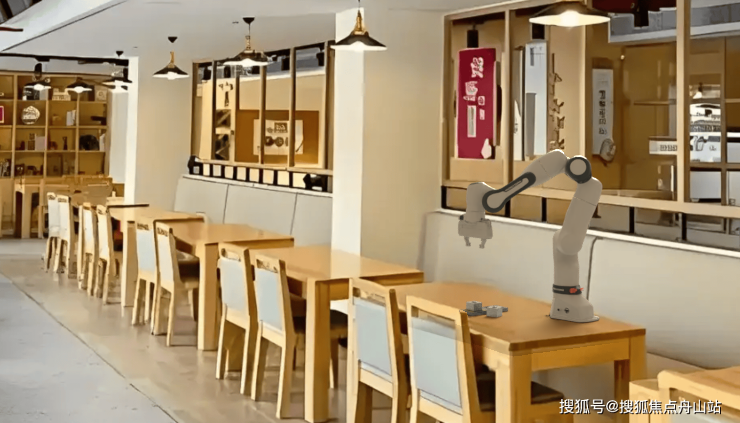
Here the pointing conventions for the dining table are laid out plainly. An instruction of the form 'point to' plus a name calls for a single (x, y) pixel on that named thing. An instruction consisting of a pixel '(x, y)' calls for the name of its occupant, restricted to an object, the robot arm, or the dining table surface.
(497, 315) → the nut
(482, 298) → the dining table surface
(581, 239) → the robot arm
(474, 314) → the rail
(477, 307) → the grey cube
